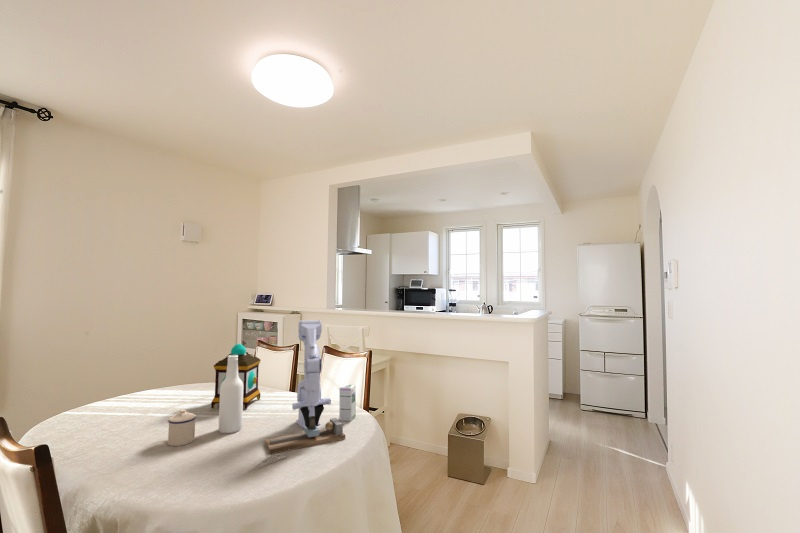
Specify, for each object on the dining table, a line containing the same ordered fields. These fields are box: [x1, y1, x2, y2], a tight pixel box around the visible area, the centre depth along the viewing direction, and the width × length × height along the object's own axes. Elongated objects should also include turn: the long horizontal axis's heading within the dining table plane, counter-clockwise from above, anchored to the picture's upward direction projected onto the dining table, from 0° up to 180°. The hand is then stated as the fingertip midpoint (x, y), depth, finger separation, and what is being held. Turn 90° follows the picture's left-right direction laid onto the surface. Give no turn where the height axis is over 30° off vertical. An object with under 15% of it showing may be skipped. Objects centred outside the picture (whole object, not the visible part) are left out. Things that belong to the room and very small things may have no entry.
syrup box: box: [338, 384, 357, 422], centre depth 168 cm, size 6×6×14 cm
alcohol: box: [218, 355, 244, 435], centre depth 155 cm, size 9×9×30 cm
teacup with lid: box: [167, 409, 197, 447], centre depth 143 cm, size 12×9×12 cm
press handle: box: [303, 416, 320, 437], centre depth 144 cm, size 7×4×6 cm, turn 29°
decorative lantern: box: [210, 343, 261, 411], centre depth 189 cm, size 20×20×30 cm
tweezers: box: [250, 453, 287, 472], centre depth 123 cm, size 18×5×2 cm, turn 148°
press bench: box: [264, 417, 346, 455], centre depth 143 cm, size 10×28×6 cm, turn 119°
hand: (311, 425), depth 144 cm, fingers closed on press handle, 3 cm apart
